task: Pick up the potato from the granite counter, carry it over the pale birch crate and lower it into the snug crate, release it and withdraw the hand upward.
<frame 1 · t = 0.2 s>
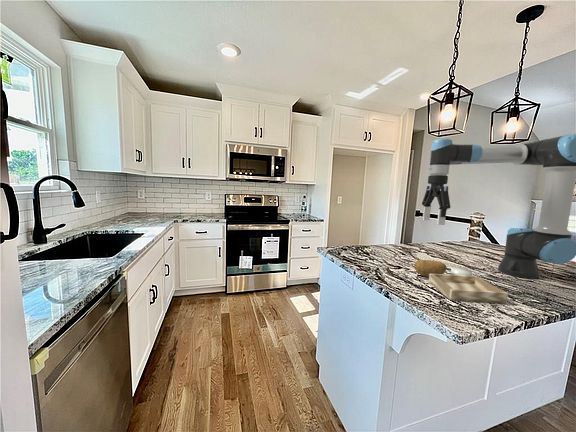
hand: (432, 222, 111), 26 cm above the countertop, fingers open, 13 cm apart
potato: (429, 277, 115), on the countertop
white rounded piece: (460, 278, 114), on the countertop
crate: (463, 291, 99), on the countertop
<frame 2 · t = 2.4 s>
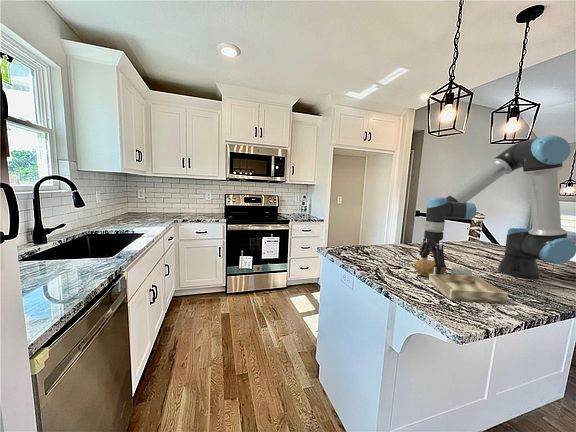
hand: (429, 275, 115), 1 cm above the countertop, fingers open, 12 cm apart
nothing on the countertop moved.
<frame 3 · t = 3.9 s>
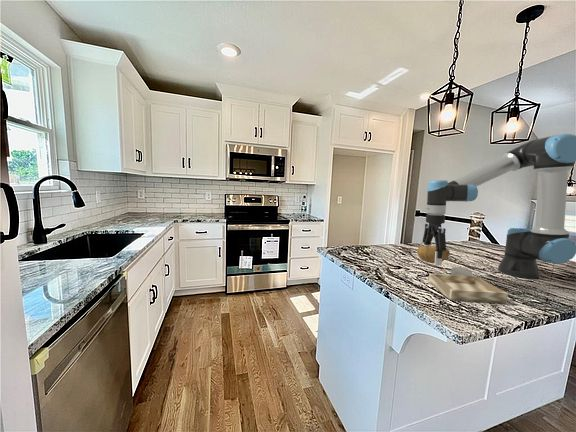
hand: (432, 261, 114), 7 cm above the countertop, fingers closed on potato, 10 cm apart
potato: (432, 262, 114), point 7 cm above the countertop, touching gripper
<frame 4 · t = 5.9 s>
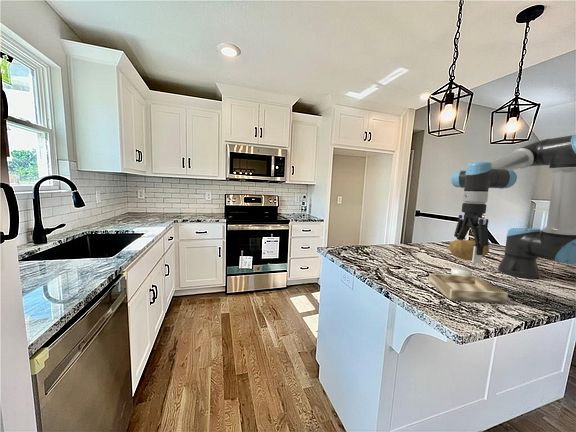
hand: (467, 258, 97), 14 cm above the countertop, fingers closed on potato, 10 cm apart
potato: (467, 260, 97), point 13 cm above the countertop, touching gripper
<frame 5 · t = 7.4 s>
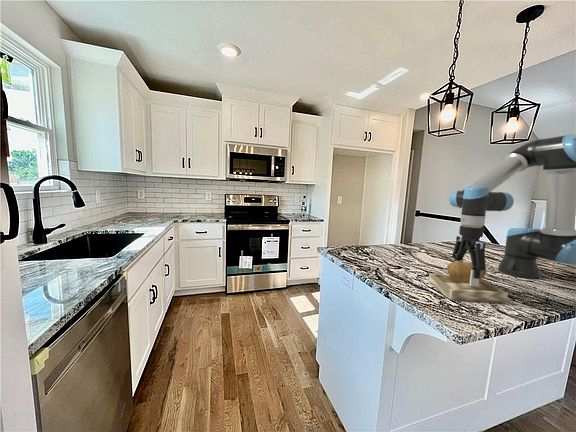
hand: (465, 280, 98), 5 cm above the countertop, fingers closed on potato, 10 cm apart
potato: (465, 282, 98), point 4 cm above the countertop, touching gripper
when the fingers open (5 cm above the countertop, at t = 7.9 s): potato drops 3 cm, resting on crate.
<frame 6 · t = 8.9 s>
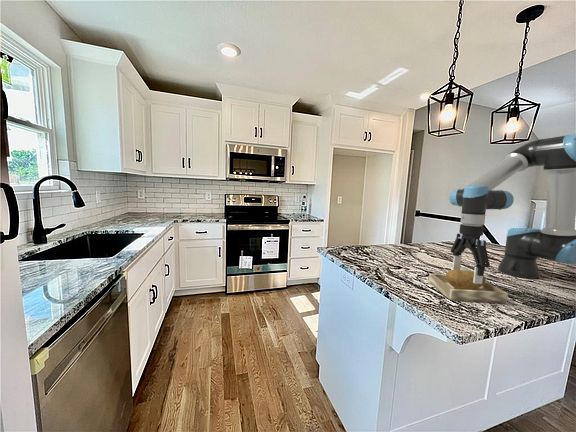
hand: (466, 276, 98), 6 cm above the countertop, fingers open, 13 cm apart
potato: (464, 290, 99), point 1 cm above the countertop, touching crate
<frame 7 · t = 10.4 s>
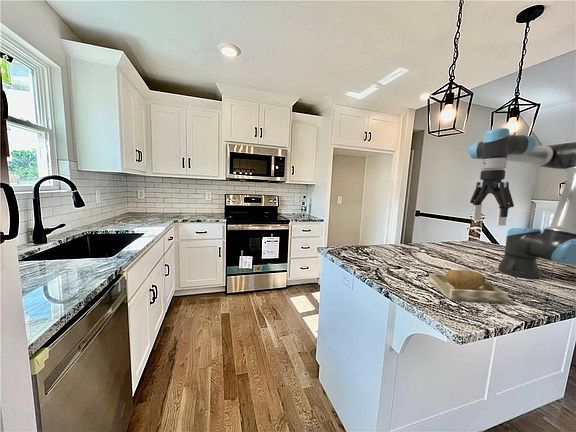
hand: (488, 222, 99), 28 cm above the countertop, fingers open, 13 cm apart
nothing on the countertop moved.
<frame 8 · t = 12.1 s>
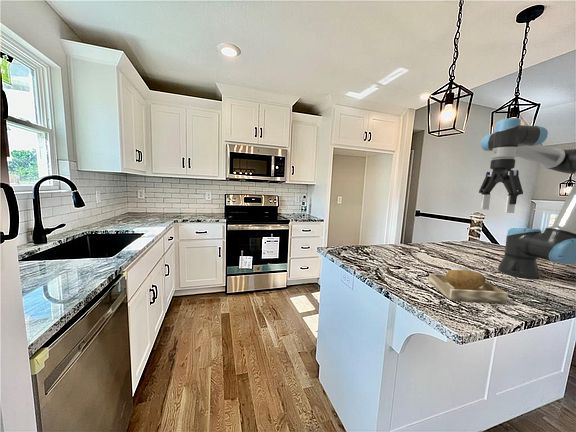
hand: (496, 211, 101), 33 cm above the countertop, fingers open, 13 cm apart
nothing on the countertop moved.
at the end: potato inside the target area on the crate (0.1 cm from its centre), point 0.8 cm above the crate's base; the gripper is holding nothing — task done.
